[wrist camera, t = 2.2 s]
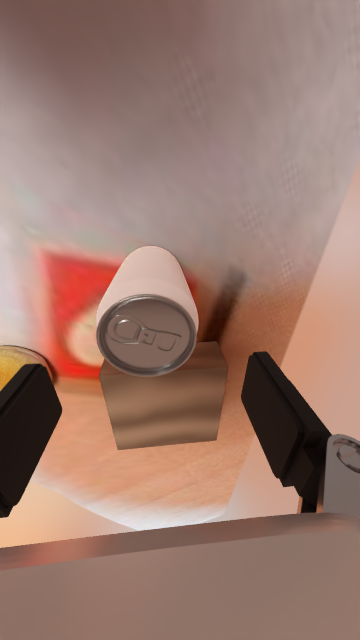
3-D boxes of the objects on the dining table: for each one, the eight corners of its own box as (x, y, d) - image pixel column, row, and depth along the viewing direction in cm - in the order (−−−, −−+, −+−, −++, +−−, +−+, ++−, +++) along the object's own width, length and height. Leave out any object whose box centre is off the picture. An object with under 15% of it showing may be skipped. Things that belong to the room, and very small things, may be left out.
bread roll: (67, 369, 27) (54, 393, 24) (24, 400, 29) (6, 427, 26) (7, 328, 23) (-19, 350, 20) (-38, 367, 25) (-68, 393, 22)
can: (131, 233, 20) (104, 266, 9) (191, 260, 22) (224, 311, 11) (113, 292, 22) (76, 367, 12) (168, 311, 24) (177, 391, 14)
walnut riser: (108, 347, 26) (98, 375, 21) (216, 341, 27) (228, 367, 23) (122, 417, 33) (117, 450, 28) (208, 410, 34) (216, 440, 30)
